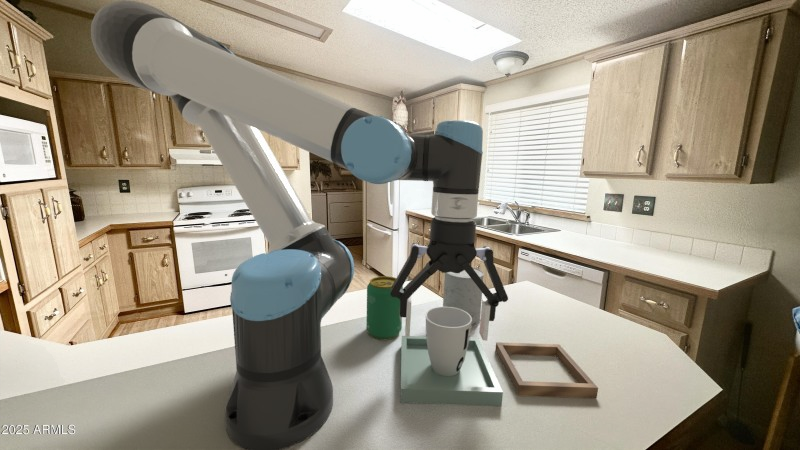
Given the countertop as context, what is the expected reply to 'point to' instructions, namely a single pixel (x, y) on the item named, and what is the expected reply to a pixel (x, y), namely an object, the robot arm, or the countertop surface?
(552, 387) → the frame
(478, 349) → the tray
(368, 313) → the beverage can
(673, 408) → the countertop surface
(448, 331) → the cup
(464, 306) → the grey stone cylinder
